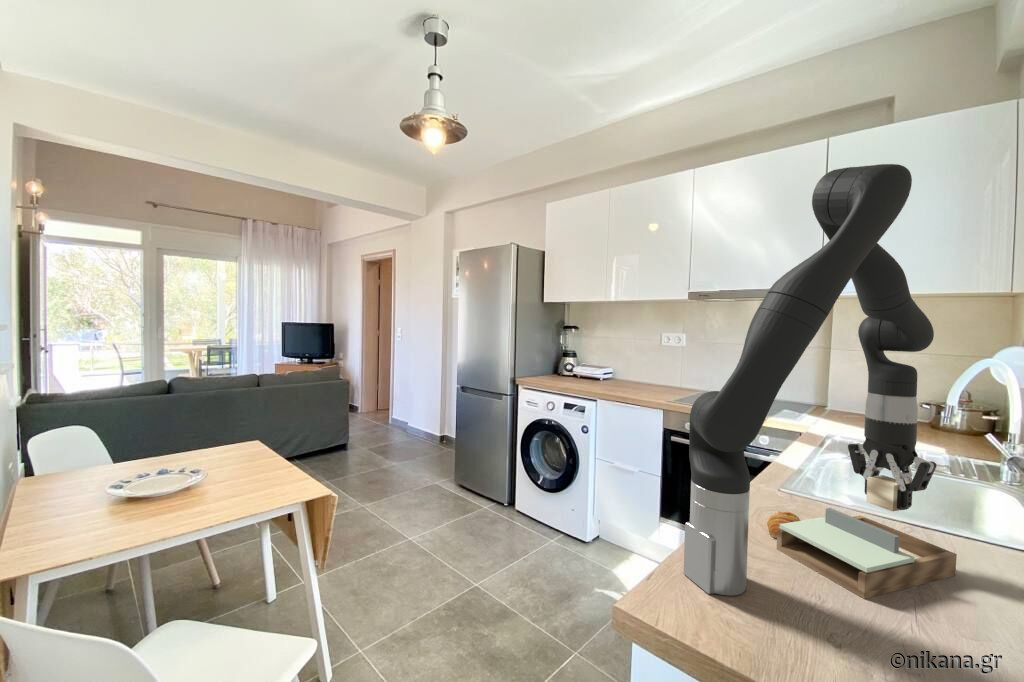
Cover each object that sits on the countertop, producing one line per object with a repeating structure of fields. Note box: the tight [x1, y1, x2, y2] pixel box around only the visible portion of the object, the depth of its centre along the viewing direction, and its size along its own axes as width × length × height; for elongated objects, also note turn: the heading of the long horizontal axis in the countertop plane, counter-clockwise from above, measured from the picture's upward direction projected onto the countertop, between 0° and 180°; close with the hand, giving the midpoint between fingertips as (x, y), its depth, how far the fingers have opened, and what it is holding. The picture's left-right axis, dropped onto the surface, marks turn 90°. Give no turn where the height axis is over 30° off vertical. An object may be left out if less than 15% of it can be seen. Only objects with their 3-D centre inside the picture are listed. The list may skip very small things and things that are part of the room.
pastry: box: [766, 511, 802, 539], centre depth 90 cm, size 9×7×4 cm
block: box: [866, 474, 910, 512], centre depth 81 cm, size 4×4×5 cm
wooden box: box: [776, 515, 957, 600], centre depth 80 cm, size 24×16×4 cm, turn 107°
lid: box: [780, 507, 915, 573], centre depth 78 cm, size 12×16×4 cm
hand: (886, 503), depth 81 cm, fingers closed on block, 4 cm apart
